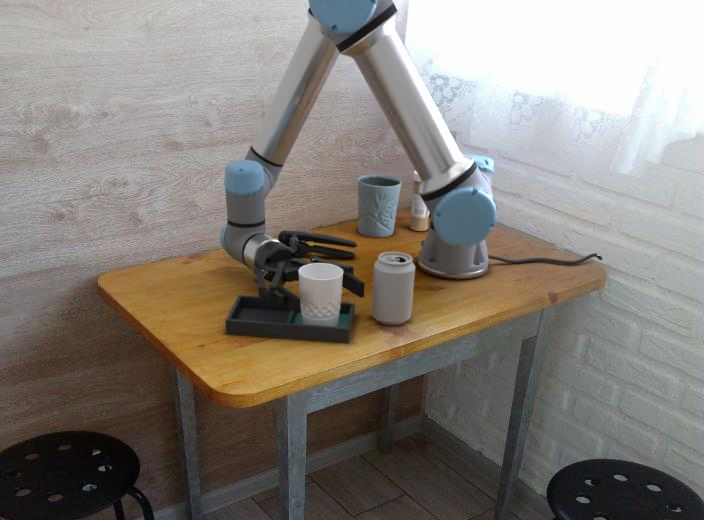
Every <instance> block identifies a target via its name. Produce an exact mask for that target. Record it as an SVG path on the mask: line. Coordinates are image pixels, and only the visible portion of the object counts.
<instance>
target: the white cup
mask: <svg viewBox="0 0 704 520" xmlns="http://www.w3.org/2000/svg"><path fill="white" fill-rule="evenodd" d="M298 272H299V280H298V289H299V298H300V307H301V317H302V324H306V325H319V326H333V327H337V325H338V323H339V312H340V306H341V302H342V297H343V294H342V293H343V287H342V282H343V270H342V269H341V268H340V267H338V266H336V265H333V264H328V263H312V264H307V265H304V266H302V267H301V268H300V269H299V271H298Z"/></svg>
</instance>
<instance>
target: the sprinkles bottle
mask: <svg viewBox="0 0 704 520" xmlns="http://www.w3.org/2000/svg"><path fill="white" fill-rule="evenodd" d="M412 178H413V189H412V196H411V200H412V201H411V208H410V209H411V210H410V223H409V229H411V231H415V232H425V231H428V230H429V217H430V214H429V211H428V209H427V207H426V205H425V203H424V202H423V200H422V198H421V196H420V194H419V192H418V190H419V186H420V182H421V179H420V177H419V176H418V174H417V172H416V170H414V172H413V177H412Z"/></svg>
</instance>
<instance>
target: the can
mask: <svg viewBox="0 0 704 520" xmlns="http://www.w3.org/2000/svg"><path fill="white" fill-rule="evenodd" d="M413 260H414V259H413V257H412V256H411V255H410V254H408V253H405V252H401V251H385V252H382V253H380V254H379V255H378V257H377V260H376V261H375V262H374V265H373V280H372V295H371V296H372V297H371V317H373V318H374V319H375V320H376V322H378V323H380V324H383V325H387V326H397V325H398V326H399V325H402V324H405V322H407V321H408V320H409V319H410V318H411V317H412V310H413V309H412V308H413V299H414V298H413V297H414V287H415V276H416V275H415V274H416V265H415V264H414V262H413Z"/></svg>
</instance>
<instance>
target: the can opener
mask: <svg viewBox="0 0 704 520" xmlns="http://www.w3.org/2000/svg"><path fill="white" fill-rule="evenodd" d="M277 238H278V239H277V240H278V241H280V242H281V243H282V244H284V245H286V246H287V247H289V248H291V249H292V250H293V251H294V253H295V255H296V256H297V257H299V256H302V255H304V254H320V255H324V256H329V257H332V258H338V259H347V260H348V259H349V260H350V259H354V258H356V257H357V255H356V253H355V252H353V251H350V250H345V249H341V248H335V247H329V246H324V245H330V246H338V247H344V248H345V247H346V248H352V249H354V248H357V247H358V243H357V242H356V241H354V240H350V239H346V238H343V237H338V236H332V235H329V234H324V233H317V232H310V230H309V229H305V230H304V231H300V230H282V231H280V232H279V233H278V236H277ZM308 242H309V243H310V242H311V243H314V244H313V245H310V244H308ZM318 244H322V245H318ZM323 244H324V245H323Z"/></svg>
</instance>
